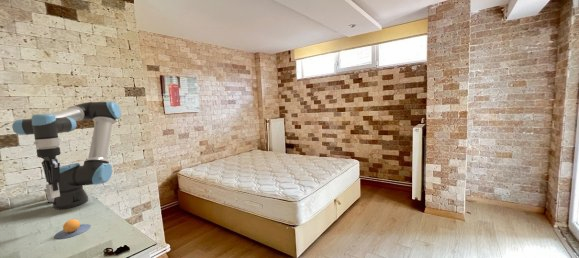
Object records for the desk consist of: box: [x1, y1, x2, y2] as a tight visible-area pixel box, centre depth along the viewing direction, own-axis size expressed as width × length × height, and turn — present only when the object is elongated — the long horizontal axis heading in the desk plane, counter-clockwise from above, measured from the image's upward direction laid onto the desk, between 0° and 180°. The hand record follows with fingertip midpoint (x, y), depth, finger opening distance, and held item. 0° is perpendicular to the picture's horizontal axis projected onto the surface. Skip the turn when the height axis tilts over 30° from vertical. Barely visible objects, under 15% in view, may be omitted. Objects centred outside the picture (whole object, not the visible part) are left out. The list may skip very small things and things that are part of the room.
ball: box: [62, 218, 81, 233], centre depth 103 cm, size 6×6×6 cm
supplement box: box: [45, 183, 54, 204], centre depth 141 cm, size 6×6×12 cm
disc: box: [53, 223, 92, 240], centre depth 103 cm, size 12×12×1 cm
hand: (55, 197), depth 108 cm, fingers closed
